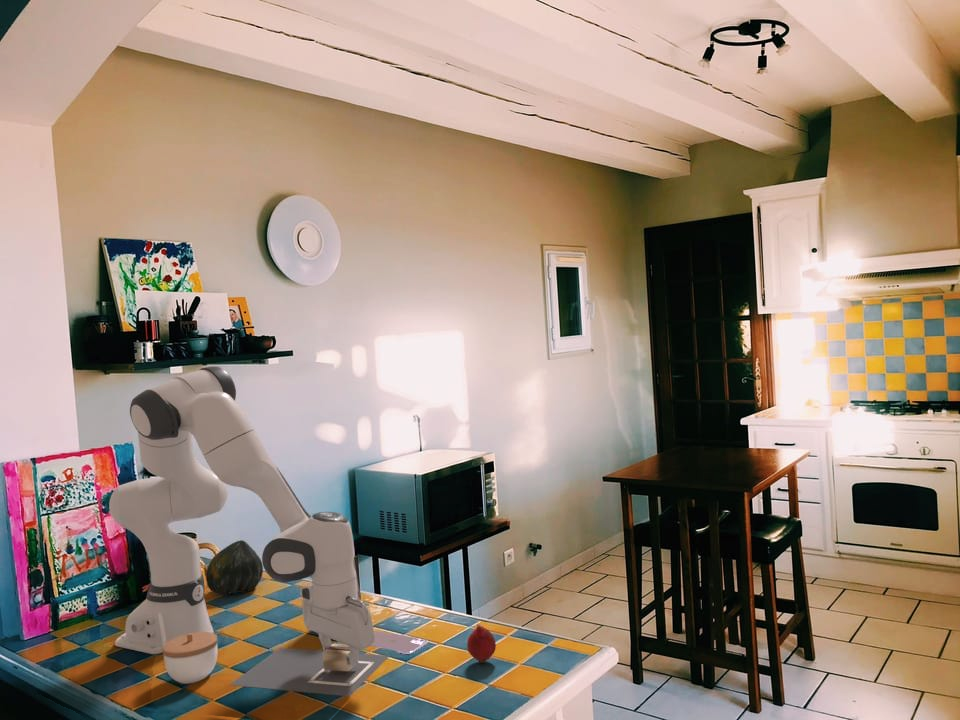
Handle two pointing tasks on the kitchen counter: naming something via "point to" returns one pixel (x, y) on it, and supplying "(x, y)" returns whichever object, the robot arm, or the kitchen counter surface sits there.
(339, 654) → the taped cardboard box
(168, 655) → the lidded jar
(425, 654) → the kitchen counter surface
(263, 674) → the rubber mat
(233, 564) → the squash
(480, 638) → the onion
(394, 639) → the mobile phone
